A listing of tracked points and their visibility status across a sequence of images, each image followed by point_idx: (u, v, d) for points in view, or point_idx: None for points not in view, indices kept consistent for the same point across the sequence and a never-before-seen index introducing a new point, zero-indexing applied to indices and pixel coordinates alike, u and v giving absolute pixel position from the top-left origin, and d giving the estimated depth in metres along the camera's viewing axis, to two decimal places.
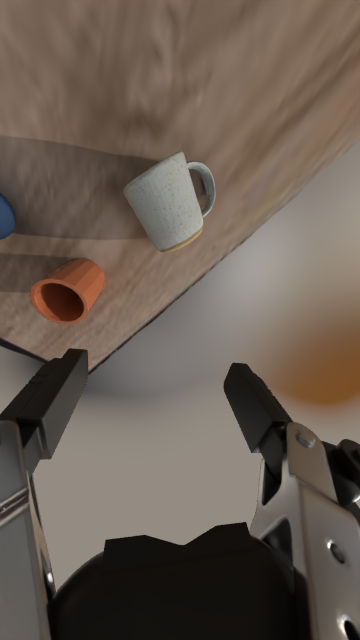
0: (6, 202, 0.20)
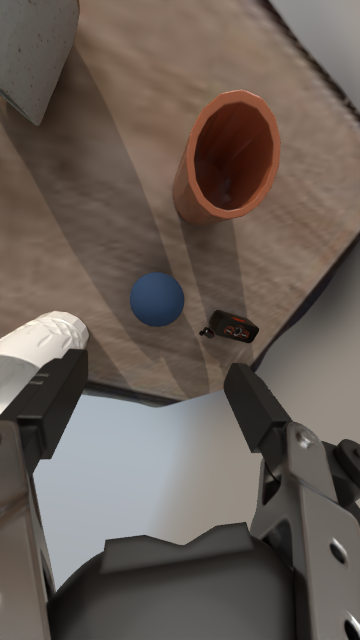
0: (140, 278, 0.20)
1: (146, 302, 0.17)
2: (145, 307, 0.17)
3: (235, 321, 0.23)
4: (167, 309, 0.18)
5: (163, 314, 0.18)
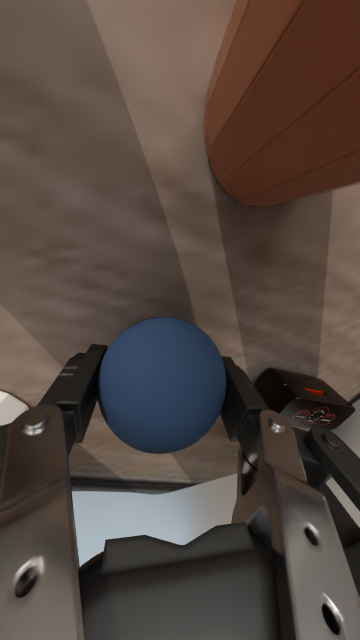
0: (123, 332, 0.08)
1: (134, 423, 0.06)
2: (133, 434, 0.06)
3: (316, 401, 0.12)
4: (193, 434, 0.06)
5: (183, 444, 0.07)
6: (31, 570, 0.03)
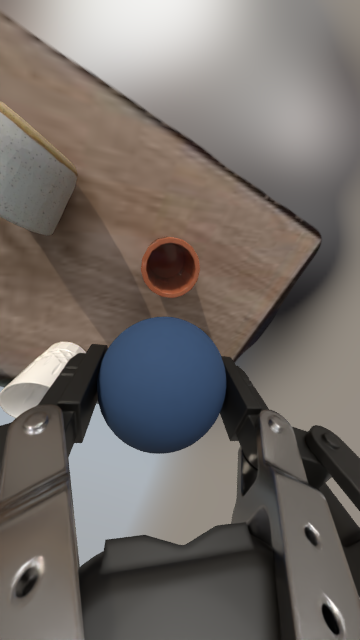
0: (123, 332, 0.08)
1: (134, 423, 0.06)
2: (133, 434, 0.06)
3: None
4: (193, 434, 0.06)
5: (183, 444, 0.07)
6: (31, 569, 0.03)
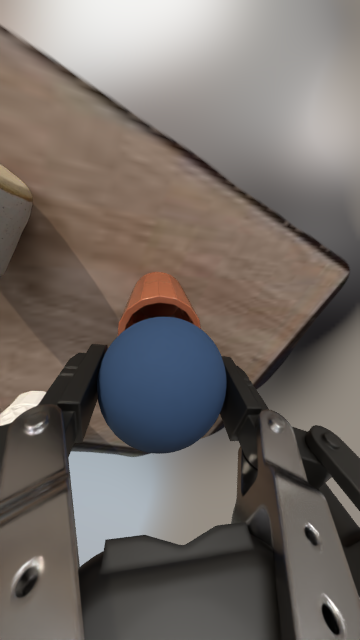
0: (123, 331, 0.08)
1: (134, 423, 0.06)
2: (132, 434, 0.06)
3: None
4: (193, 434, 0.06)
5: (183, 444, 0.07)
6: (31, 569, 0.03)
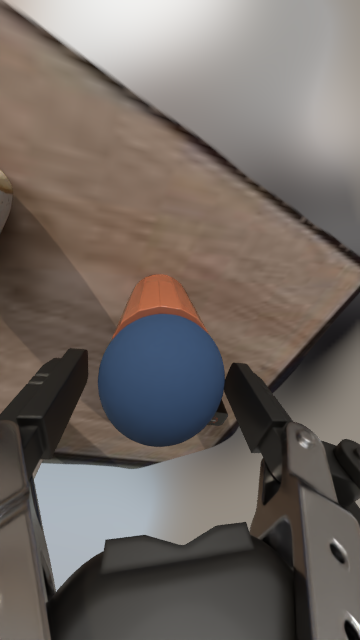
0: (123, 328, 0.09)
1: (134, 416, 0.06)
2: (132, 426, 0.06)
3: None
4: (191, 427, 0.07)
5: (181, 438, 0.07)
6: None
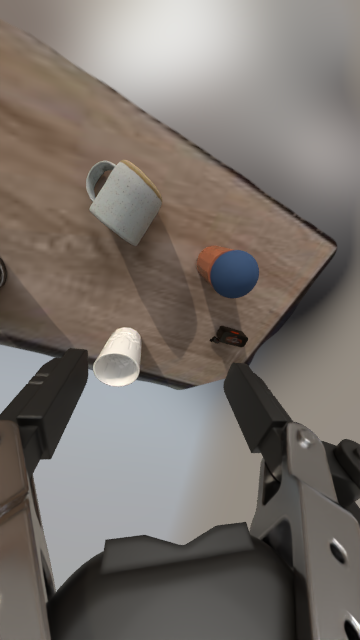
0: None
1: (234, 273, 0.21)
2: (232, 278, 0.21)
3: (232, 334, 0.37)
4: (250, 280, 0.21)
5: (246, 284, 0.21)
6: None
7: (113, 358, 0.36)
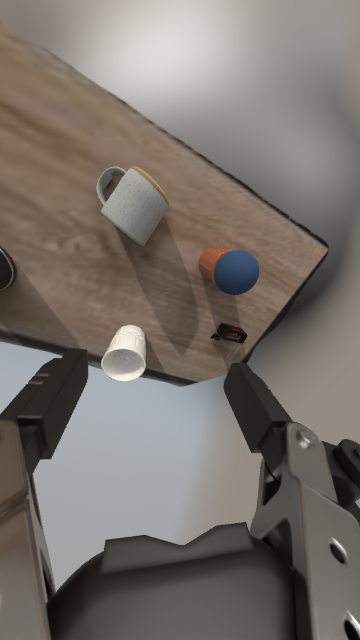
0: None
1: (237, 271, 0.22)
2: (236, 275, 0.23)
3: (233, 330, 0.39)
4: (251, 277, 0.23)
5: (248, 281, 0.23)
6: None
7: (118, 355, 0.37)
